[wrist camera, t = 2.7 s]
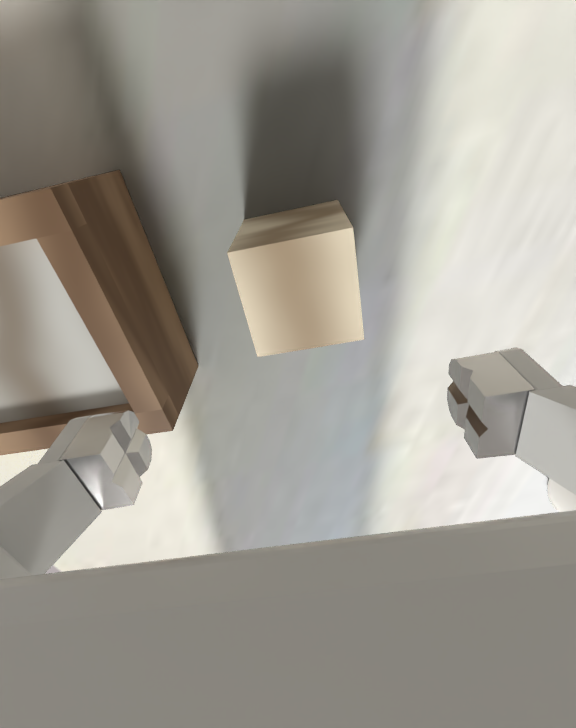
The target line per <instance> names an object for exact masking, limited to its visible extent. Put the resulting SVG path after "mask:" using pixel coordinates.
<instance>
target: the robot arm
mask: <svg viewBox="0 0 576 728" xmlns="http://www.w3.org/2000/svg"><path fill="white" fill-rule="evenodd" d="M449 375H450V377H451V378H452V380H453V382H452V384H451V385H450V386H449V387H448V392H447V400H448V406H449V411H450V413H451V416H452V418H453V420H454V422H455V423H456V425H458V426H460V427H461V428H463V429H465V433H464V439H465V440H466V442H467V444H468V445H469V447H470V448H471V450H472V452H473V453H474V455H475V457H476V458H477V459H478V458H487V457H496V456H505V455H515V454H516V455H515V456H516V457H517V458H519V459H521V460H522V461H524V462H525V463H527V464H528V465H530V466H531V467H533V468H534V469H536V470H538V471H539V472H541V473H542V474H544V475H545V476H547V477H548V478H549V481H548V487H547V493H548V498H549V500H550V502H551V504H552V506H553V507H554V508H555V509H556V510H557V511H558V512H556V513H548V514H539V515H531V516H523V517H514V518H506V519H498V520H489V521H481V522H473V523H464V524H456V525H448V526H439V527H431V528H423V529H415V530H406V531H398V532H390V533H381V534H373V535H365V536H356V537H348V538H340V539H332V540H323V541H315V542H307V543H298V544H290V545H282V546H273V547H265V548H257V549H248V550H240V551H232V552H223V553H215V554H207V555H198V556H190V557H182V558H174V559H165V560H157V561H149V562H140V563H132V564H124V565H115V566H107V567H99V568H91V569H82V570H74V571H66V572H57V573H49V574H45V573H46V572H47V571H48V570H49V569H50V568H51V566H52V565H53V564H54V563H55V562H56V561H57V560H58V559H59V558H60V557H61V556H62V555H63V553H64V552H65V551H66V550H67V549H68V548H69V547H70V546H71V545H72V544H73V543H74V542H75V540H76V539H77V538H78V537H79V536H80V535H81V534H82V533H83V532H84V531H85V530H86V528H87V527H88V526H89V525H90V524H91V523H92V522H93V521H94V520H95V519H96V518H97V516H98V515H99V514H100V513H101V512H102V511H101V510H106V509H112V508H118V507H124V506H130V505H134V503H135V500H136V498H137V495H138V493H139V490H140V488H141V485H142V481H141V479H140V476H141V475H142V474H143V473H144V472H145V471H146V470H147V469H148V468H149V465H150V462H151V455H152V448H151V444H150V441H149V439H148V437H147V435H146V434H145V433H143V432H142V431H140V430H139V429H137V428H138V425H139V420H138V418H137V417H136V415H135V413H134V412H132V411H129V410H126V411H119V412H111V413H104V414H97V415H93V416H92V415H90V416H83V417H77V418H74V419H72V420H70V421H69V422H68V424H67V425H66V426H65V428H64V429H63V430H62V432H61V433H60V434H59V436H58V437H57V438H56V440H55V441H54V442H53V444H52V445H51V447H50V448H49V449H48V451H47V452H46V453H45V455H44V456H43V457H42V459H41V460H40V461H39V463H38V464H35V465H31V466H29V467H28V468H27V469H25V470H24V471H22V472H21V473H19V474H18V475H16V476H15V477H13V478H12V479H10V480H9V481H8V482H6V483H5V484H3V485H2V486H0V728H576V387H575V386H572V385H567V386H562V385H561V384H560V383H559V382H558V381H557V380H555V379H554V378H553V377H552V376H551V375H550V374H549V373H548V372H547V371H545V370H544V369H543V368H542V367H541V366H540V365H539V364H538V363H537V362H535V361H534V360H533V359H532V358H531V357H530V356H529V355H528V354H527V353H525V352H524V351H523V350H522V349H520V348H511V349H506V350H500V351H495V352H492V353H486V354H481V355H475V356H469V357H463V358H457V359H451V362H450V364H449Z"/></svg>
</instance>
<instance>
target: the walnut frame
mask: <svg viewBox="0 0 576 728" xmlns="http://www.w3.org/2000/svg"><path fill="white" fill-rule="evenodd" d="M197 368H198V364H197V362H196V359H195V357H194V354H193V352H192V349H191V347H190V344H189V342H188V339H187V337H186V334H185V332H184V329H183V327H182V324H181V322H180V319H179V317H178V314H177V312H176V309H175V307H174V304H173V302H172V299H171V297H170V294H169V292H168V289H167V287H166V284H165V282H164V279H163V277H162V274H161V272H160V269H159V267H158V264H157V262H156V259H155V257H154V254H153V252H152V249H151V247H150V244H149V242H148V239H147V237H146V234H145V232H144V229H143V227H142V224H141V222H140V219H139V217H138V215H137V212H136V210H135V207H134V205H133V202H132V200H131V197H130V195H129V192H128V190H127V187H126V185H125V182H124V180H123V177H122V175H121V172H120V170H117V171H112V172H108V173H104V174H100V175H96V176H91V177H87V178H83V179H79V180H74V181H70V182H66V183H62V184H58V185H53V186H49V187H45V188H41V189H37V190H32V191H28V192H24V193H20V194H16V195H11V196H7V197H3V198H0V455H5V454H12V453H19V452H26V451H33V450H40V449H47V448H50V447H51V445H52V444H53V442H54V441H55V440H56V438H57V437H58V436H59V434H60V433H61V432H62V430H63V429H64V428H65V426H66V425H67V424H68V422H69V421H70V420H72V419H74V418H77V417H83V416H90V415H92V416H93V415H97V414H104V413H111V412H119V411H126V410H129V411H132V412H134V413H135V415H136V417H137V418H138V420H139V425H138V428H137V429H139V430H140V431H142V432H143V433H145V434H153V433H160V432H167V431H173V429H174V427H175V424H176V421H177V419H178V416H179V414H180V411H181V409H182V406H183V404H184V401H185V399H186V396H187V394H188V391H189V389H190V386H191V384H192V381H193V378H194V376H195V373H196V371H197Z"/></svg>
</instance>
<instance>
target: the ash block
mask: <svg viewBox="0 0 576 728" xmlns="http://www.w3.org/2000/svg"><path fill="white" fill-rule="evenodd" d="M227 254H228V257H229V261H230V264H231V267H232V271H233V274H234V278H235V281H236V285H237V288H238V291H239V295H240V298H241V302H242V305H243V309H244V312H245V315H246V319H247V322H248V326H249V329H250V333H251V336H252V339H253V343H254V346H255V350H256V353H257V357H261V356H267V355H273V354H279V353H285V352H291V351H297V350H304V349H310V348H316V347H322V346H328V345H334V344H340V343H346V342H352V341H358V340H364V333H363V323H362V312H361V302H360V292H359V282H358V272H357V262H356V252H355V242H354V231H353V226H352V225H351V223H350V221H349V219H348V217H347V216H346V214H345V212H344V210H343V209H342V207H341V205H340V203H339V201H338V200H335V201H330V202H325V203H320V204H316V205H311V206H306V207H301V208H297V209H292V210H287V211H283V212H278V213H273V214H268V215H264V216H259V217H254V218H249V219H245V220H244V221H243V223H242V225H241V227H240V229H239V231H238V233H237V235H236V237H235V239H234V241H233V243H232V245H231V246H230V248H229V250H228V252H227Z"/></svg>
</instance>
